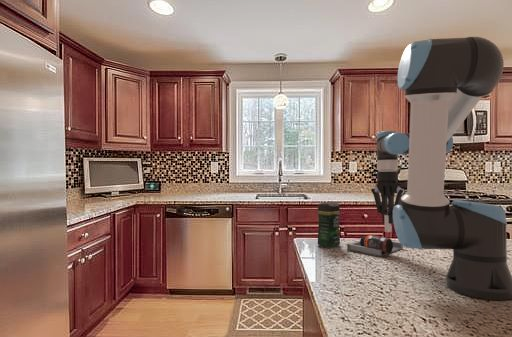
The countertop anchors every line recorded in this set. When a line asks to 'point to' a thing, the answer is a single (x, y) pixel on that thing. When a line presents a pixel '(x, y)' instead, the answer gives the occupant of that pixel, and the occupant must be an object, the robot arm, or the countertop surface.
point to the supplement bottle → (377, 243)
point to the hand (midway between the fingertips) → (388, 231)
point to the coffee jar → (328, 224)
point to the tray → (372, 249)
